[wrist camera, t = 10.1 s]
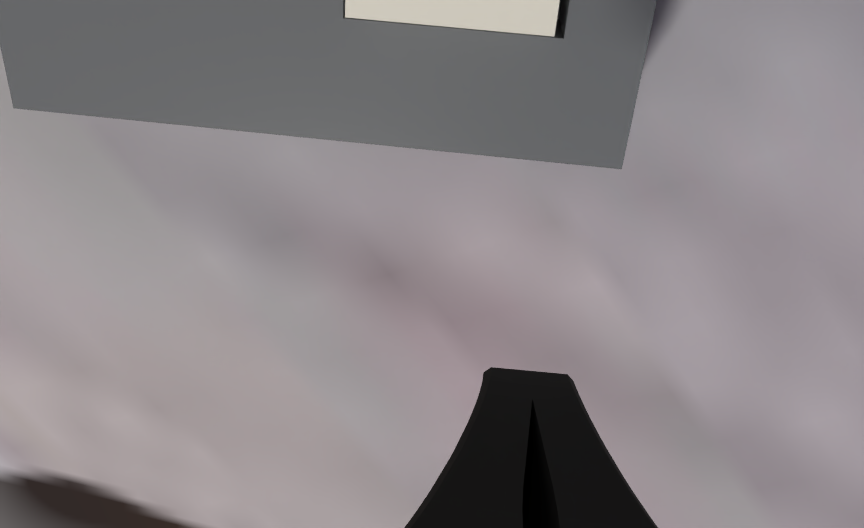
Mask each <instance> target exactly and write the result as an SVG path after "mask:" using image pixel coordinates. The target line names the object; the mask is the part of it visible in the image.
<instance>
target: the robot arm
mask: <svg viewBox="0 0 864 528" xmlns="http://www.w3.org/2000/svg"><path fill="white" fill-rule="evenodd" d="M405 528H658V527H657V526H656V524H655V523H654V522H653V520H652V519H651V518H650V516H649V515H648V513H647V512H646V510H645V509H644V507H643V506H642V504H641V503H640V501H639V500H638V499H637V497H636V496H635V494H634V493H633V491H632V490H631V488H630V486H629V485H628V483H627V482H626V480H625V479H624V477H623V475H622V474H621V472H620V470H619V469H618V467H617V465H616V464H615V462H614V460H613V459H612V457H611V455H610V454H609V452H608V450H607V449H606V447H605V445H604V443H603V441H602V440H601V438H600V436H599V434H598V432H597V430H596V428H595V427H594V425H593V423H592V421H591V419H590V417H589V415H588V413H587V411H586V409H585V407H584V405H583V403H582V400H581V398H580V396H579V394H578V391H577V389H576V387H575V384H574V381H573V380H572V379H571V378H570V377H569V376H568V374H557V373H547V372H536V371H525V370H514V369H503V368H492V367H491V368H490V369H488V370H487V371H485V372H484V374H483V381H482V386H481V389H480V393H479V396H478V399H477V402H476V405H475V407H474V409H473V412H472V414H471V417H470V419H469V421H468V424H467V426H466V428H465V430H464V432H463V434H462V436H461V438H460V440H459V442H458V444H457V446H456V448H455V450H454V452H453V454H452V455H451V457H450V459H449V461H448V462H447V464H446V466H445V467H444V469H443V471H442V472H441V474H440V476H439V477H438V479H437V481H436V482H435V484H434V486H433V487H432V489H431V491H430V492H429V494H428V495H427V497H426V498H425V500H424V501H423V503H422V504H421V506H420V507H419V508H418V510H417V511H416V513H415V514H414V516H413V517H412V518H411V520H410V521H409V522H408V524H407V525H406V526H405Z"/></svg>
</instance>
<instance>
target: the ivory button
mask: <svg viewBox="0 0 864 528" xmlns="http://www.w3.org/2000/svg"><path fill="white" fill-rule="evenodd" d="M559 2H560V0H345V17H346V18H357V19H368V20H379V21H390V22H401V23H412V24H422V25H433V26H444V27H455V28H466V29H477V30H488V31H499V32H509V33H520V34H531V35H542V36H553V37H554V36H555V29H556V22H557V16H558V9H559Z"/></svg>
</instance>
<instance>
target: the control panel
mask: <svg viewBox="0 0 864 528" xmlns="http://www.w3.org/2000/svg"><path fill="white" fill-rule="evenodd" d="M656 2H657V0H560V2H559V9H558V16H557V22H556V29H555V36H554V37H553V36H542V35H531V34H520V33H509V32H499V31H488V30H477V29H466V28H455V27H444V26H433V25H422V24H412V23H401V22H390V21H379V20H368V19H357V18H346V17H345V0H0V47H1V51H2V56H3V61H4V65H5V70H6V75H7V80H8V84H9V89H10V94H11V98H12V103H13V108H17V109H27V110H37V111H47V112H56V113H66V114H76V115H86V116H96V117H106V118H116V119H126V120H136V121H146V122H156V123H166V124H176V125H186V126H196V127H206V128H216V129H226V130H236V131H246V132H256V133H266V134H276V135H286V136H296V137H306V138H316V139H326V140H336V141H346V142H356V143H366V144H375V145H385V146H395V147H405V148H415V149H425V150H435V151H445V152H455V153H465V154H475V155H485V156H495V157H505V158H515V159H525V160H535V161H545V162H555V163H565V164H575V165H585V166H595V167H605V168H615V169H622V165H623V160H624V156H625V151H626V146H627V141H628V136H629V132H630V127H631V122H632V117H633V112H634V108H635V103H636V98H637V93H638V88H639V84H640V79H641V74H642V69H643V64H644V60H645V55H646V50H647V45H648V40H649V36H650V31H651V26H652V21H653V17H654V12H655V7H656Z"/></svg>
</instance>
